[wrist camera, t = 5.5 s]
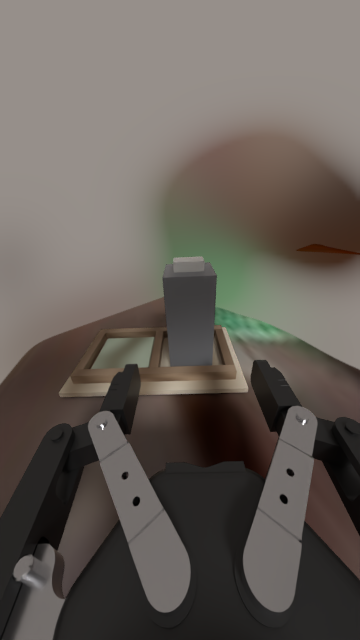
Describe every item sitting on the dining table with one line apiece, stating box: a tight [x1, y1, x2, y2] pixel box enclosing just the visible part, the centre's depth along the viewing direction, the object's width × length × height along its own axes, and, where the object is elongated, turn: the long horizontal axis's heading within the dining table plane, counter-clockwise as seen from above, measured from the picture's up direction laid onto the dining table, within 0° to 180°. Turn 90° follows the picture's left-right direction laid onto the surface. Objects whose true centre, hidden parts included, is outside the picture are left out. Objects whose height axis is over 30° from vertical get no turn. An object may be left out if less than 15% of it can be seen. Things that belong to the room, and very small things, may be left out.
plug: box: [163, 257, 217, 367], centre depth 23 cm, size 5×5×12 cm
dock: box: [59, 325, 248, 397], centre depth 26 cm, size 20×12×2 cm, turn 90°
